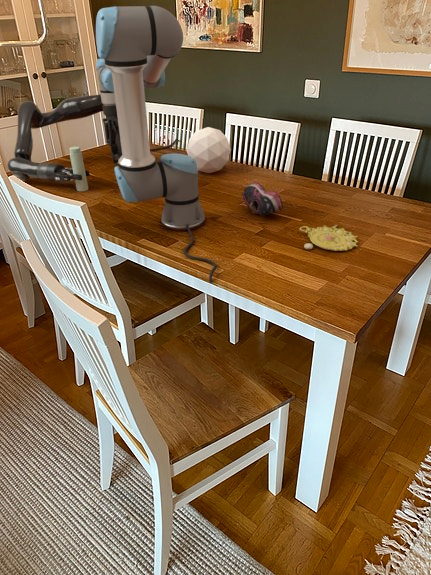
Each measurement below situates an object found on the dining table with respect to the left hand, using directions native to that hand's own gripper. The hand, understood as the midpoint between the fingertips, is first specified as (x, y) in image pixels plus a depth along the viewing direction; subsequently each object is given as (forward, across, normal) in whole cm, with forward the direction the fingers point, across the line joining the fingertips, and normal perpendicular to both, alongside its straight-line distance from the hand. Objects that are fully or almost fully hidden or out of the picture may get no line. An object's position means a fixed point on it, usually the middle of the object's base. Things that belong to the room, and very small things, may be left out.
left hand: (85, 175), depth 183 cm
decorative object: (+102, +19, -6) cm, 104 cm away
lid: (+14, -6, +8) cm, 17 cm away
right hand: (+14, -6, +4) cm, 16 cm away
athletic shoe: (+74, +2, -6) cm, 75 cm away
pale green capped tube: (-3, 0, -6) cm, 7 cm away
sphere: (+41, -36, -6) cm, 55 cm away
